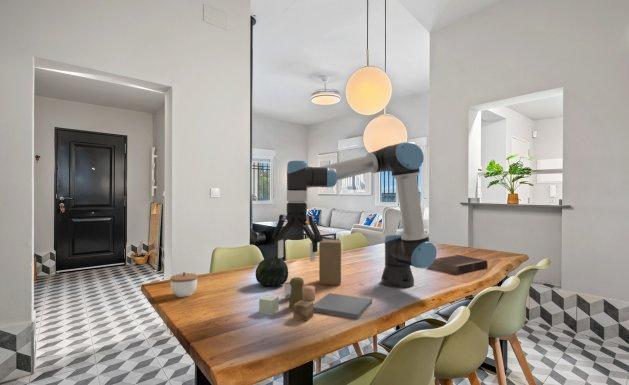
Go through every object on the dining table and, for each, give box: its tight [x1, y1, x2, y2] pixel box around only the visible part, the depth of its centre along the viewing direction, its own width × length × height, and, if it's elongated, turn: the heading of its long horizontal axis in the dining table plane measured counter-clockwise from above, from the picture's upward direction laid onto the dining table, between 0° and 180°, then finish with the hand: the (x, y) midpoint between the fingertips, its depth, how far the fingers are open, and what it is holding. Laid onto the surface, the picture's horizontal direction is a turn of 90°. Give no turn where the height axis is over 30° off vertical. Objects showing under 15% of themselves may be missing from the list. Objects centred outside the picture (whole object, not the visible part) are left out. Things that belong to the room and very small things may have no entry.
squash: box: [255, 254, 289, 287], centre depth 153 cm, size 14×15×15 cm
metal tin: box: [284, 281, 291, 302], centre depth 132 cm, size 5×5×6 cm
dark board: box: [313, 292, 373, 320], centre depth 123 cm, size 18×18×2 cm
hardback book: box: [426, 254, 489, 275], centre depth 188 cm, size 29×19×5 cm, turn 123°
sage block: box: [258, 294, 280, 316], centre depth 118 cm, size 5×5×5 cm
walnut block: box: [293, 300, 314, 322], centre depth 112 cm, size 5×5×5 cm
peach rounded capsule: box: [302, 285, 316, 302], centre depth 131 cm, size 5×5×5 cm
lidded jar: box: [170, 271, 199, 298], centre depth 138 cm, size 11×11×9 cm
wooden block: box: [318, 238, 342, 286], centre depth 156 cm, size 10×10×20 cm
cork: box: [288, 276, 305, 311], centre depth 122 cm, size 6×6×11 cm
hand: (296, 259), depth 122 cm, fingers open, 13 cm apart
